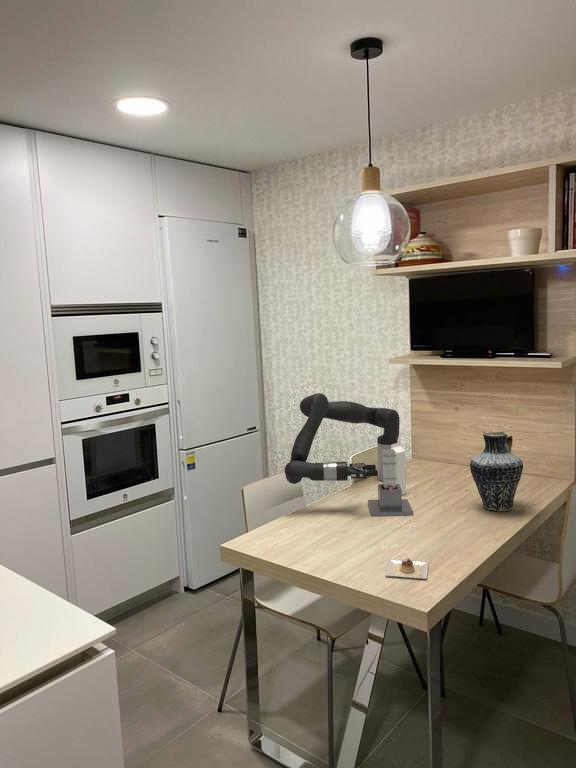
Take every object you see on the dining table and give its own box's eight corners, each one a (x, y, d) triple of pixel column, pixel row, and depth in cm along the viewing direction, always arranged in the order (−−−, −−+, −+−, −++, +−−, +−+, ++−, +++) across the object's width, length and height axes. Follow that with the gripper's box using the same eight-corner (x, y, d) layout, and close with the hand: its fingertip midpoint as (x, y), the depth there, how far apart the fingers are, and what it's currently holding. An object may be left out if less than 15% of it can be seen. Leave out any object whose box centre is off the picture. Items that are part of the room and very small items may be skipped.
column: (383, 503, 244) (382, 449, 241) (395, 503, 244) (394, 449, 241) (384, 507, 239) (383, 452, 237) (396, 506, 239) (395, 451, 236)
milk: (406, 493, 261) (405, 443, 258) (397, 497, 257) (397, 445, 254) (394, 491, 266) (394, 441, 263) (386, 494, 261) (385, 443, 259)
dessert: (428, 565, 189) (428, 550, 188) (426, 582, 177) (426, 566, 177) (389, 562, 192) (389, 547, 191) (385, 578, 180) (385, 563, 180)
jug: (511, 519, 225) (512, 439, 221) (461, 510, 237) (461, 434, 234) (531, 505, 240) (531, 430, 237) (483, 496, 253) (483, 425, 249)
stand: (367, 503, 250) (367, 479, 249) (407, 502, 249) (407, 478, 248) (371, 516, 234) (370, 490, 233) (413, 515, 233) (412, 490, 232)
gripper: (335, 466, 234) (378, 465, 233) (334, 457, 248) (374, 456, 247) (336, 485, 235) (378, 484, 234) (335, 475, 249) (375, 474, 248)
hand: (376, 470), depth 240 cm, fingers open, 8 cm apart
